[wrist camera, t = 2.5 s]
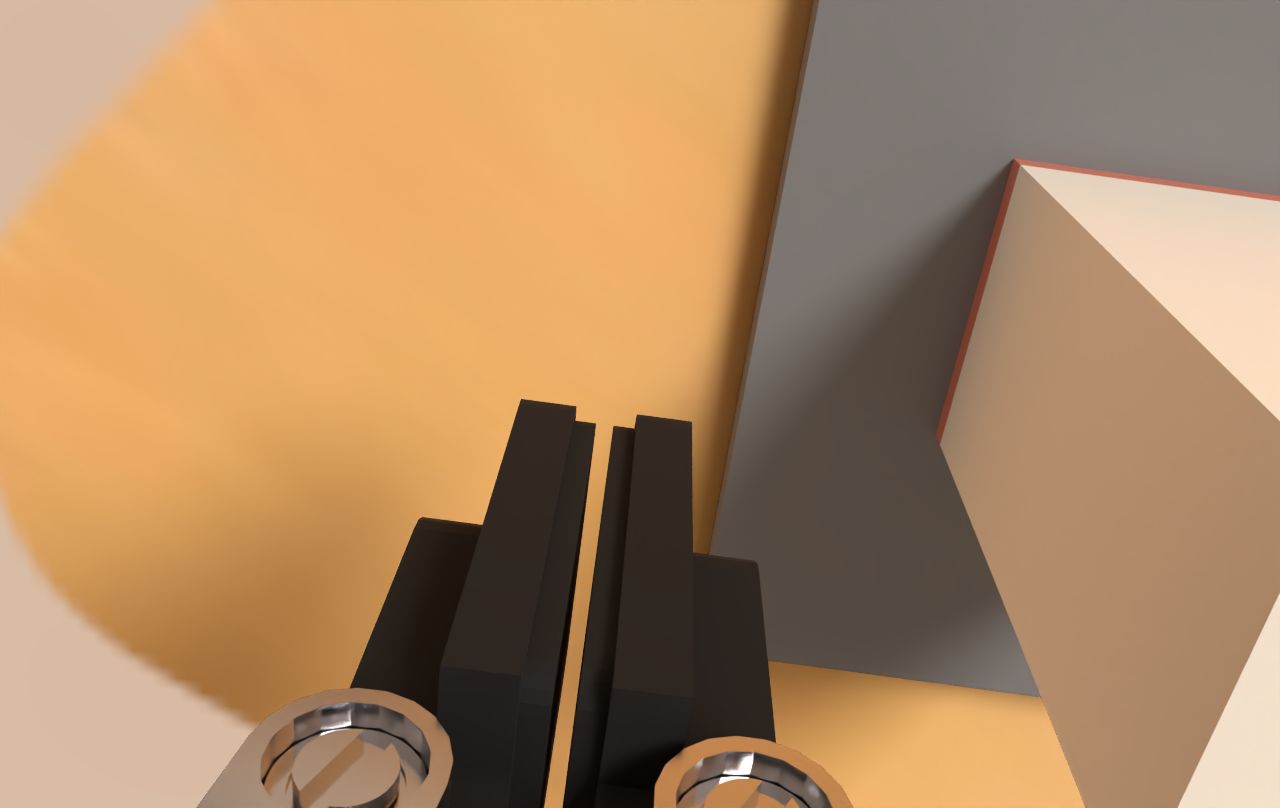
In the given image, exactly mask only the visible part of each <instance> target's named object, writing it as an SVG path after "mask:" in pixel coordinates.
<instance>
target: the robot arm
mask: <svg viewBox="0 0 1280 808" xmlns="http://www.w3.org/2000/svg"><path fill="white" fill-rule="evenodd" d="M575 419H576V406H569V405H562V404H554V403H547V402H539V401H532V400H524V399H521V401H520V404H519V407H518V410H517V414H516V417H515V420H514V424H513V427H512V430H511V433H510V437H509V440H508V443H507V447H506V450H505V453H504V456H503V460H502V463H501V466H500V470H499V473H498V476H497V479H496V483H495V486H494V489H493V493H492V496H491V499H490V503H489V506H488V509H487V512H486V516H485V519H484V522H483V525H478V524H471V523H463V522H455V521H448V520H440V519H432V518H425V517H422V518H420V519H419V520H418V522H417V524H416V526H415V528H414V530H413V533H412V535H411V538H410V540H409V543H408V545H407V547H406V550H405V552H404V555H403V557H402V560H401V562H400V565H399V567H398V570H397V572H396V575H395V577H394V580H393V582H392V585H391V587H390V590H389V592H388V595H387V597H386V600H385V602H384V605H383V607H382V609H381V612H380V614H379V617H378V619H377V622H376V624H375V627H374V629H373V632H372V634H371V637H370V639H369V642H368V644H367V647H366V649H365V652H364V654H363V657H362V659H361V662H360V664H359V667H358V669H357V671H356V674H355V676H354V679H353V681H352V684H351V686H350V689H339V690H328V691H323V692H320V693H317V694H314V695H310V696H307V697H304V698H301V699H297V700H295V701H293V702H291V703H290V704H288V705H286V706H284V707H283V708H281V709H279V710H277V711H276V712H274V713H272V714H270V715H269V716H268V717H267V718H266V719H265V720H264V721H263V722H262V723H261V724H260V725H259V726H258V727H257V728H256V729H255V730H254V731H253V732H252V733H251V734H250V735H249V736H248V737H247V739H246V740H245V742H244V743H243V745H242V746H241V747H240V749H239V750H238V752H237V753H236V754H235V756H234V757H233V758H232V760H231V761H230V762H229V764H228V765H227V767H226V768H225V769H224V771H223V772H222V773H221V775H220V776H219V777H218V779H217V780H216V782H215V783H214V784H213V786H212V787H211V788H210V790H209V791H208V793H207V794H206V795H205V797H204V798H203V800H202V801H201V802H200V804H199V805H198V807H197V808H544V804H545V798H546V791H547V784H548V778H549V771H550V764H551V758H552V751H553V744H554V738H555V731H556V724H557V718H558V711H559V705H560V698H561V691H562V685H563V678H564V671H565V664H566V657H567V649H568V642H569V634H570V626H571V618H572V610H573V602H574V594H575V586H576V578H577V571H578V563H579V555H580V547H581V539H582V531H583V523H584V515H585V507H586V499H587V492H588V484H589V476H590V468H591V460H592V452H593V444H594V436H595V428H596V424H595V423H588V422H580V421H575ZM563 808H853V806H852V804H851V802H850V801H849V799H848V797H847V795H846V793H845V791H844V790H843V788H842V787H841V786H840V785H839V784H838V783H837V782H836V781H835V780H834V779H833V778H832V777H831V776H830V775H829V773H828V772H827V771H826V770H825V769H824V768H823V767H822V766H820V765H818V764H817V763H815V762H814V761H812V760H810V759H809V758H807V757H806V756H804V755H802V754H801V753H799V752H798V751H796V750H793V749H791V748H788V747H785V746H782V745H780V744H777V743H776V739H775V729H774V719H773V708H772V698H771V688H770V678H769V668H768V657H767V647H766V637H765V627H764V617H763V606H762V596H761V586H760V576H759V569H758V564H757V563H756V561H754V560H746V559H739V558H731V557H723V556H716V555H708V554H700V553H693V524H692V422H689V421H682V420H674V419H667V418H659V417H652V416H644V415H637V417H636V423H635V429H633V428H625V427H618V426H614V427H613V434H612V441H611V449H610V456H609V463H608V471H607V478H606V486H605V493H604V501H603V508H602V515H601V523H600V530H599V538H598V545H597V553H596V560H595V567H594V575H593V582H592V590H591V597H590V604H589V612H588V619H587V627H586V634H585V642H584V649H583V657H582V664H581V672H580V679H579V687H578V694H577V702H576V710H575V717H574V725H573V733H572V740H571V748H570V755H569V763H568V771H567V778H566V786H565V794H564V801H563Z"/></svg>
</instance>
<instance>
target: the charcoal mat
mask: <svg viewBox="0 0 1280 808" xmlns="http://www.w3.org/2000/svg"><path fill="white" fill-rule="evenodd" d="M1014 158H1015V159H1022V160H1029V161H1036V162H1043V163H1050V164H1057V165H1064V166H1071V167H1078V168H1085V169H1092V170H1099V171H1107V172H1114V173H1121V174H1128V175H1135V176H1142V177H1149V178H1156V179H1163V180H1170V181H1177V182H1184V183H1191V184H1198V185H1205V186H1212V187H1219V188H1226V189H1233V190H1240V191H1247V192H1254V193H1261V194H1269V195H1276V196H1280V0H813V5H812V10H811V16H810V21H809V26H808V32H807V37H806V42H805V47H804V53H803V58H802V63H801V69H800V74H799V79H798V84H797V90H796V95H795V100H794V106H793V111H792V116H791V121H790V127H789V132H788V137H787V143H786V148H785V153H784V158H783V164H782V169H781V174H780V180H779V185H778V190H777V195H776V201H775V206H774V211H773V216H772V222H771V227H770V232H769V238H768V243H767V248H766V253H765V259H764V264H763V269H762V275H761V280H760V285H759V290H758V296H757V301H756V306H755V312H754V317H753V322H752V327H751V333H750V338H749V343H748V349H747V354H746V359H745V364H744V370H743V375H742V380H741V385H740V391H739V396H738V401H737V407H736V412H735V417H734V422H733V428H732V433H731V438H730V444H729V449H728V454H727V459H726V465H725V470H724V475H723V481H722V486H721V491H720V496H719V502H718V507H717V512H716V518H715V523H714V528H713V533H712V539H711V544H710V549H709V555H716V556H723V557H731V558H739V559H746V560H754V561H756V563H757V564H758V569H759V576H760V586H761V596H762V606H763V617H764V627H765V637H766V647H767V657H768V660H769V661H777V662H784V663H792V664H799V665H807V666H814V667H821V668H829V669H836V670H844V671H851V672H858V673H866V674H873V675H881V676H888V677H895V678H903V679H910V680H918V681H925V682H932V683H940V684H947V685H955V686H962V687H969V688H977V689H984V690H992V691H999V692H1006V693H1014V694H1021V695H1029V696H1036V697H1041V695H1040V693H1039V690H1038V688H1037V685H1036V683H1035V680H1034V678H1033V675H1032V673H1031V670H1030V668H1029V665H1028V663H1027V660H1026V658H1025V655H1024V653H1023V650H1022V648H1021V645H1020V643H1019V640H1018V638H1017V635H1016V633H1015V630H1014V628H1013V626H1012V623H1011V621H1010V618H1009V616H1008V613H1007V611H1006V608H1005V606H1004V603H1003V601H1002V598H1001V596H1000V593H999V591H998V588H997V586H996V583H995V581H994V578H993V576H992V573H991V571H990V568H989V566H988V563H987V561H986V558H985V556H984V553H983V551H982V548H981V546H980V543H979V541H978V538H977V536H976V533H975V531H974V528H973V526H972V523H971V521H970V518H969V516H968V513H967V511H966V508H965V506H964V504H963V501H962V499H961V496H960V494H959V491H958V489H957V486H956V484H955V481H954V479H953V476H952V474H951V471H950V469H949V466H948V464H947V461H946V459H945V456H944V454H943V451H942V449H941V446H940V444H939V441H938V439H937V436H936V431H937V428H938V424H939V421H940V417H941V414H942V410H943V406H944V403H945V399H946V396H947V392H948V389H949V385H950V382H951V378H952V375H953V371H954V368H955V364H956V361H957V357H958V353H959V350H960V346H961V343H962V339H963V336H964V332H965V329H966V325H967V322H968V318H969V315H970V311H971V308H972V304H973V301H974V297H975V293H976V290H977V286H978V283H979V279H980V276H981V272H982V269H983V265H984V262H985V258H986V255H987V251H988V248H989V244H990V241H991V237H992V233H993V230H994V226H995V223H996V219H997V216H998V212H999V209H1000V205H1001V202H1002V198H1003V195H1004V191H1005V188H1006V184H1007V181H1008V177H1009V173H1010V170H1011V166H1012V163H1013V159H1014Z"/></svg>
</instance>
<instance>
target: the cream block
mask: <svg viewBox="0 0 1280 808" xmlns="http://www.w3.org/2000/svg"><path fill="white" fill-rule="evenodd" d="M936 436H937V439H938V441H939V444H940V446H941V449H942V451H943V454H944V456H945V459H946V461H947V464H948V466H949V469H950V471H951V474H952V476H953V479H954V481H955V484H956V486H957V489H958V491H959V494H960V496H961V499H962V501H963V504H964V506H965V508H966V511H967V513H968V516H969V518H970V521H971V523H972V526H973V528H974V531H975V533H976V536H977V538H978V541H979V543H980V546H981V548H982V551H983V553H984V556H985V558H986V561H987V563H988V566H989V568H990V571H991V573H992V576H993V578H994V581H995V583H996V586H997V588H998V591H999V593H1000V596H1001V598H1002V601H1003V603H1004V606H1005V608H1006V611H1007V613H1008V616H1009V618H1010V621H1011V623H1012V626H1013V628H1014V630H1015V633H1016V635H1017V638H1018V640H1019V643H1020V645H1021V648H1022V650H1023V653H1024V655H1025V658H1026V660H1027V663H1028V665H1029V668H1030V670H1031V673H1032V675H1033V678H1034V680H1035V683H1036V685H1037V688H1038V690H1039V693H1040V695H1041V698H1042V700H1043V703H1044V705H1045V708H1046V710H1047V713H1048V715H1049V718H1050V720H1051V723H1052V725H1053V728H1054V730H1055V733H1056V735H1057V738H1058V740H1059V743H1060V745H1061V748H1062V750H1063V752H1064V755H1065V757H1066V760H1067V762H1068V765H1069V767H1070V770H1071V772H1072V775H1073V777H1074V780H1075V782H1076V785H1077V787H1078V790H1079V792H1080V795H1081V797H1082V800H1083V802H1084V805H1085V807H1086V808H1280V196H1276V195H1269V194H1261V193H1254V192H1247V191H1240V190H1233V189H1226V188H1219V187H1212V186H1205V185H1198V184H1191V183H1184V182H1177V181H1170V180H1163V179H1156V178H1149V177H1142V176H1135V175H1128V174H1121V173H1114V172H1107V171H1099V170H1092V169H1085V168H1078V167H1071V166H1064V165H1057V164H1050V163H1043V162H1036V161H1029V160H1022V159H1015V158H1014V159H1013V163H1012V166H1011V170H1010V173H1009V177H1008V181H1007V184H1006V188H1005V191H1004V195H1003V198H1002V202H1001V205H1000V209H999V212H998V216H997V219H996V223H995V226H994V230H993V233H992V237H991V241H990V244H989V248H988V251H987V255H986V258H985V262H984V265H983V269H982V272H981V276H980V279H979V283H978V286H977V290H976V293H975V297H974V301H973V304H972V308H971V311H970V315H969V318H968V322H967V325H966V329H965V332H964V336H963V339H962V343H961V346H960V350H959V353H958V357H957V361H956V364H955V368H954V371H953V375H952V378H951V382H950V385H949V389H948V392H947V396H946V399H945V403H944V406H943V410H942V414H941V417H940V421H939V424H938V428H937V431H936Z"/></svg>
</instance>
